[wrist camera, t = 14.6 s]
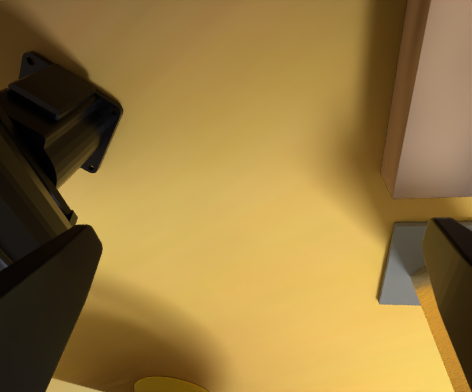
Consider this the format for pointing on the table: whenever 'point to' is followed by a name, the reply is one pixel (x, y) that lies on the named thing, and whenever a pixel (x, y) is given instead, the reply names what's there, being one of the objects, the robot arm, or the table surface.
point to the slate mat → (404, 263)
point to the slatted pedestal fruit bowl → (166, 385)
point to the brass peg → (439, 329)
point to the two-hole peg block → (432, 104)
